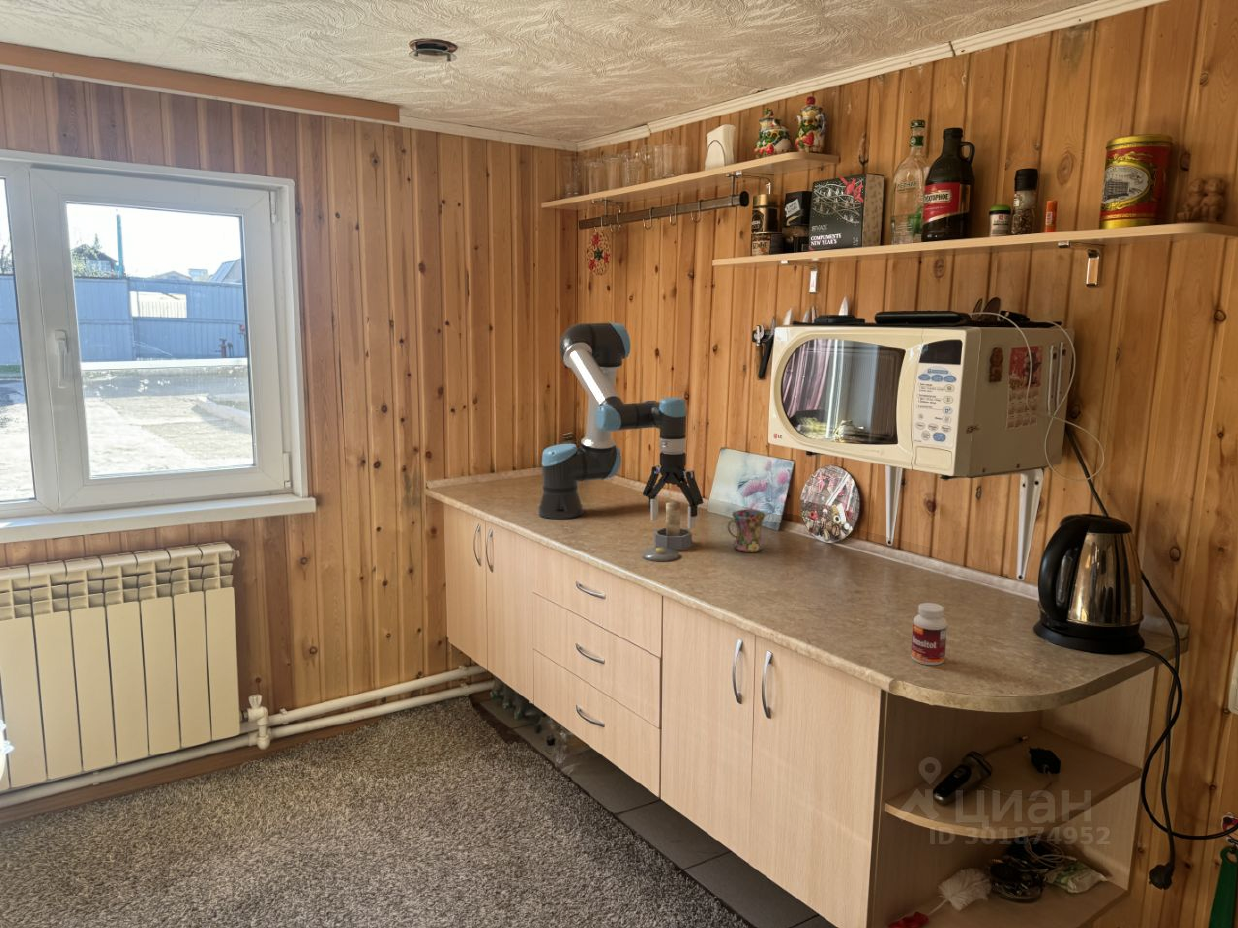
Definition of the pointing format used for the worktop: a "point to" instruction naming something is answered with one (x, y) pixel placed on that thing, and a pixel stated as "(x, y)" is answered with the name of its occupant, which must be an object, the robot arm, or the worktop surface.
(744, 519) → the mug
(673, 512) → the dowel
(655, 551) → the jar lid
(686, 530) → the candle jar
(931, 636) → the pill bottle
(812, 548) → the worktop surface
